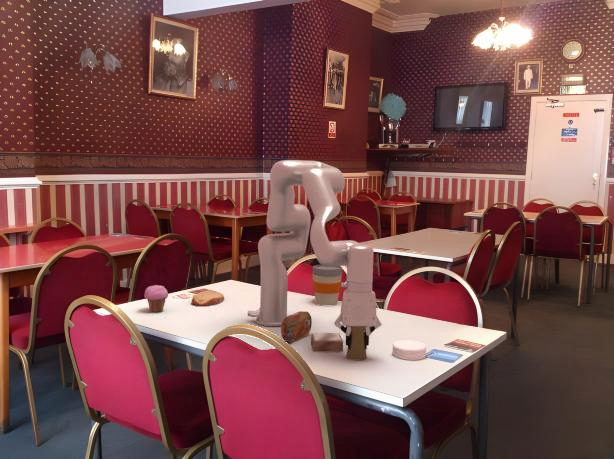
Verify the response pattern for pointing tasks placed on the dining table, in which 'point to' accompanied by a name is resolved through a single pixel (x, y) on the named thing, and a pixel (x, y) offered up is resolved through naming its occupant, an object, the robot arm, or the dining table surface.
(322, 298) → the reusable coffee cup
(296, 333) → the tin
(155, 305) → the cupcake
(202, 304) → the bread slice
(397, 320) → the dining table surface
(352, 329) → the cork
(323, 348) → the plinth
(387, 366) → the dining table surface
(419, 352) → the white round disc
